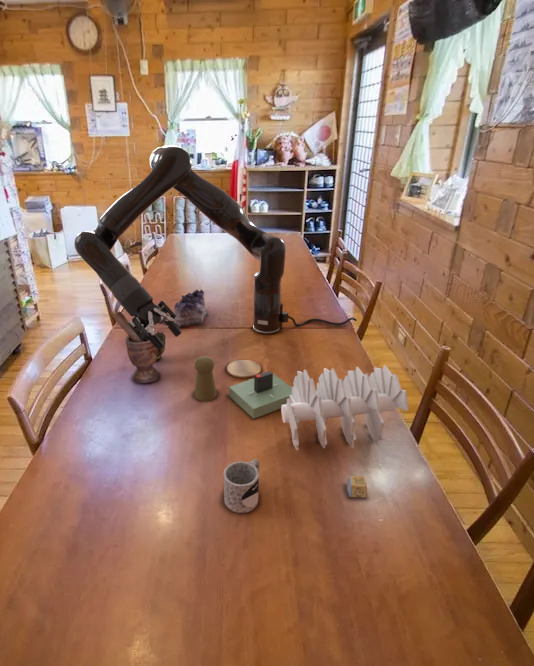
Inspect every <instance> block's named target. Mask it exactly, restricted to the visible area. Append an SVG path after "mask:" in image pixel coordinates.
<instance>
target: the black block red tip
mask: <svg viewBox="0 0 534 666" xmlns="http://www.w3.org/2000/svg"><path fill="white" fill-rule="evenodd" d="M273 374H274V373H273V372H271V371H270V370H268V371H264V372H262V373H259V374H257V375H255V376H254V377H253V379H254V391H255V392H257V393H260V392H263V391H265V390H268V389H271V388H273Z"/></svg>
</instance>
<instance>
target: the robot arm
mask: <svg viewBox="0 0 534 666" xmlns="http://www.w3.org/2000/svg"><path fill="white" fill-rule="evenodd" d="M149 164H150V169H151V172H149V174H148V175H147V176H146V177H145V178H144V179H143V180H141V181H140V182H139V183H138V184H137V185H136V186H134V187H133V188H131V189H130V190H128V191H127V192H126V193H124V194H122V196H120V197H119V198H118V199H117V200H116V201H115V202H114V203H113V204H111V206H110V207H109V208H108V209H107V210H106V211H105V212H104V213H103V214H102V215H101V217H100V218H99V220H98V225H97V226H96V228H95V229H94V230H93V231H90V230H85V231H81V232H79V233H78V234H77V235H76V236H75V238H74V244H73V245H74V249H75V251H76V254H78V255H79V257H80V258H81V259H82V260H83V261H84V262H85V263H86V264H87V265H88V266H89V267H90V268H91V269H92V270H93V271H94V272H95V273H96V275H97V276H98V278H99V279H100V281H101V282H102V283H103V284H104V285H105V286H106V287H107V289H108V290H109V291H110V292H111V294H112V296H113V297H114V298H115V300H116V301H117V302H118V303H119V305H121V306H122V308H123V309H124V310H125V311H126V312H127V313H128V315H129V316H130V317H132V318H131V319H130V320H129V321H128V322H129V323H128V324H129V326H130V327H131V328H132V330H133V331H134V332H135V333H136V335H137V336H138V337H139V339H140V340H141V341H143V340H145V339H147V340H149V341H150V342H151V343H152V344H153V345H154V346H155V347H156V348H157V349H158V350H160V349H161V348H162V347H164V343H163V342H162V341H161V340H160V339H159V337H158V336H157V335H156V334H157V333H155V330H154V328H155V325H157V324H159V325H164V326H166V327H167V328H168V329H169V331H170V332H171V333H172V334H173V335H174V336H175V337H178V336H180V335H182V330H181V327H178V326H177V325H176V324H175V319H174V318H175V317H176V315H175V312H174V311H173V310H172V309H171V308H170V307H169V306H168V305H167V304H166V302H165V301H163V300H160V301H159V302H158V303H157V304H155V303H154V301H153V296H152V295H151V294H150V292H149V291H147V289H146V288H145V287H144V286H143V285H142V284H141V282H140V281H139V280H138V279H137V278H136V277H135V276H134V275H133V274H132V273H131V272H130V271H129V270H128V268H126V266H125V265H124V264H123V262H121V261H120V260H119V259H118V258H117V257H116V256H115V255H114V254H113V252H112V251H111V250H112V249H113V247H114V246H115V245H116V243H117V242H118V240H119V239H120V237H121V236H122V235H124V234H125V232H127V230H129V228H131V226H132V225H133V224H134V223H135V222H136V221H137V220H138V219H139V218H140V217H141V216H142V215H143V214H144V213H145V212H147V210H148V209H149V208H150V207H151V206H152V205H153V204H154V203H155V202H157V201H158V200H159V199H160V198H161V197H163V195H165V194H166V193H167V192H169V191H170V190H172V189H174V190H175V191H176V192H178V193H180V194H181V195H182V196H183V197H185V199H187V200H188V202H190V204H192V205H193V206H194V207H195V208H196V210H198V211H199V212H201V214H202V215H204V216H205V217H206V218H207V219H208V220H209V221H210V222H212V223H213V224H214V225H215V226H217V227H218V228H219V229H221V230H222V231H223V232H225V234H227V235H229V236H231V237H232V238H234V239H235V240H237V242H238V243H240V244H241V245H242V246H243V247H244V248H245V250H246V251H247V252H248V253H249V254H250V255H251V256H252V257H253V258H254V259H255V260H257V261H259V262H260V266H259V271H257V272H255V273H254V275H253V323H252V324H253V326H252V329H253V331H254V332H256V333H258V334H261V335H272V334H276V333H278V332H279V331H280V330H282V329H283V324H284V323H288V322H289V319H290V320H291V321H292V323H293V324H294V326H296V327H301V326H304V325H307V324H308V323H311V322H315V321H316V322H321V323H325V324H329V325H334V326H343V325H345V324H347V323H348V322H350V321H355V322H357V321H358V319H356V318H355V317H353V316H352V317H348V318H347V319H346V320H345V321H342V322H332V321H329V320H325V319H321V318H310V319H308V320H305V321H304V322H302V323H297V322H296V320H295V318H294V317H292V316H291V315H289V313H288V312H286V311H284V303H283V302H281V300H282V298H281V297H282V280H283V276H284V274H285V266H286V257H287V256H286V251H287V250H286V244H285V242H284V241H283V239H282V238H281V237H278V236H276V235H274V234H270V233H268V232H265V231H264V230H262V229H261V228H259V226H257V225H256V224H254V223H253V222H252V221H251V220H250V219H249V218H248V216H247V213H246V211H245V210H244V208H243V207H242V206H241V205H240V204H239V202H238V201H236V200H235V198H233V197H232V196H231V195H230V194H229V193H228V192H226V191H225V190H223V189H222V188H221V187H219V186H217V185H215V184H214V183H212V182H211V181H209V180H207V179H206V178H203V177H201V176H200V175H199V174H198V173H196V172H195V171H194V170H193V169H192V165H193V163H192V158H191V156H190V154H189V151H187V150H186V149H185V148H183V147H181V146H177V145H163V146H159V147H157V148H155V149H154V150H153V151H152V153H151V155H150V157H149ZM140 331H141V332H142V333H143V335H142V334H141V332H140ZM154 333H155V335H154Z"/></svg>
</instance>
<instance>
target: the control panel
mask: <svg viewBox="0 0 534 666" xmlns="http://www.w3.org/2000/svg"><path fill="white" fill-rule="evenodd" d="M292 387H293V386H291V385H289V384H288V383H286V381H284V380H282V379H281V378H280V377H279V376H277V374H275V373H273V388H271V389H268V390H265V391H263V392H260V393H257V392H255V391H254V378H251V379H248V380H246V381H242V382H239V383H235V384H233V385H230V386H228V397H229V398H230V399H232V401H234V402H235V403H236V404H237V405H238V406H239V407H240V408H241V409H242V410H243V411H244V412H245V413H246V414H247V415H249V417H251V418H252V420H254V419H257V418H259V417H262V416H265V415H268V414H270V413H273V412H276V411H278V410H281V405H285V404H287V398H289V400H290V397H289V395H292Z"/></svg>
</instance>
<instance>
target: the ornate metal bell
mask: <svg viewBox="0 0 534 666" xmlns="http://www.w3.org/2000/svg"><path fill="white" fill-rule="evenodd" d="M155 334H156V335H157V336H158V337H159V339H160V340H161V341H162V342H163V343H164V347H162V348H161V349H160V350H158V354H157V359H156V362H158V361H160V360H161V358H162V355H163V354H164V352H165V351H166V338H167V337H166V334H165V333H164V332H163V331H161V332H160V331H157V333H155Z"/></svg>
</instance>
